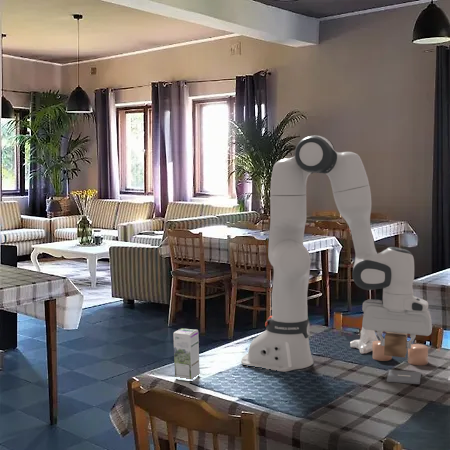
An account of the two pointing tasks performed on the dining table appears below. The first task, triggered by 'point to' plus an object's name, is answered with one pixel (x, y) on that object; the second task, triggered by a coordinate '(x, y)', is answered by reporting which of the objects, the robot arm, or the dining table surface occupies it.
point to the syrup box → (186, 353)
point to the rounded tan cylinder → (379, 352)
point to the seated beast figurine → (364, 341)
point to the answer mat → (404, 376)
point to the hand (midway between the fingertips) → (395, 346)
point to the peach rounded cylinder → (418, 354)
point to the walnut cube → (395, 344)
